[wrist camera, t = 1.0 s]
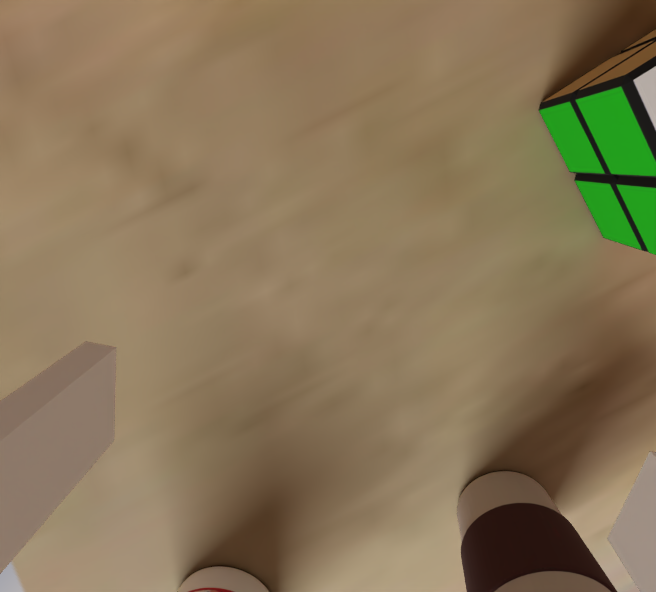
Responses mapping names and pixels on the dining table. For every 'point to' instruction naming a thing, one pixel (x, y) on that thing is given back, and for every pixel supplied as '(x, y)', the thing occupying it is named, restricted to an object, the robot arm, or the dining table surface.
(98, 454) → the robot arm
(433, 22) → the dining table surface
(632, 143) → the puzzle cube
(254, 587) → the fruit juice
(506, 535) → the coffee cup
